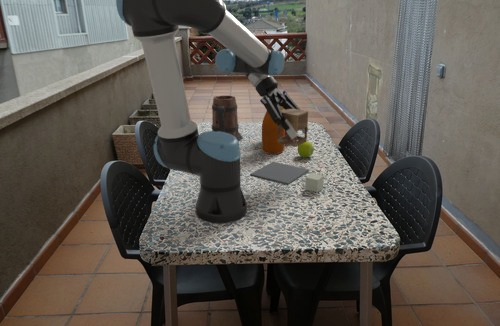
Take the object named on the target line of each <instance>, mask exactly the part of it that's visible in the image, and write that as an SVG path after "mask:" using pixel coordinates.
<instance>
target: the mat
mask: <svg viewBox="0 0 500 326" xmlns="http://www.w3.org/2000/svg"><path fill="white" fill-rule="evenodd" d="M308 172H310V169H308V168H304V167H300V166H295V165H289V164H285V163H280V162H277V161H276V162H275V161H271V162H270V163H268V164H266V165H264V166H262V167H260V168H259V169H257V170H255V171H253V172H251V173H250V176H252V177H256V178H260V179H264V180H268V181H272V182H277V183H281V184H284V185H287V186H289V185H291V183H293V182H294V181H296V180H298V179H299V178H301V177H302V176H303V175H305V174H307V173H308Z"/></svg>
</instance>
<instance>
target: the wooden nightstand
mask: <svg viewBox="0 0 500 326" xmlns="http://www.w3.org/2000/svg"><path fill="white" fill-rule="evenodd" d="M282 113H283V115H284V118H285V120H286V119H287V120H288V121H289V123H290V124H291V125H292V127H293V128H294V129H295V131H296V132H297V133H298V131H301V129H303V128H305V134H304V136H300V135H297V136H296V137H295V138H294V140H295V142H293V141H289V140H287V139H291V138H290V136H289V135H288V134H287V135H285V136H283V137H280V128H282V129H284V128H283V127H282V125H281V124H280V125H278V143H281V144H285V145H284V146H289V147H290V146H291V147H294V148H296V147H297V148H298V146H299V145H301V144H303V143H305V142H307V141H308V140H307V139H308V131H307V126H308V124H309V123H308V122H309V121H308V120H309V111H308V110H302V109H300V110H298V109H290V108H289V109H286V110H283V111H282Z"/></svg>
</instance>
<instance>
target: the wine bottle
mask: <svg viewBox="0 0 500 326" xmlns="http://www.w3.org/2000/svg"><path fill="white" fill-rule="evenodd" d="M278 86H279V85H278ZM278 86H277V89H278V88H279V87H278ZM278 90H279V89H278ZM275 119H276V118H275ZM283 136H285V130H284V129H282V128H280V137H283ZM261 149H262V151H263V152H264V153H265V154H269V155H275V154H280V153H283V152H284V150H285V145H284V144H281V143H278V125H277V123H276V124H275V123H274V121H273V120H272V118H271V116H270V115H269V113H268V111H267V110H266V112H265V113H264V117H263V119H262V123H261Z"/></svg>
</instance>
